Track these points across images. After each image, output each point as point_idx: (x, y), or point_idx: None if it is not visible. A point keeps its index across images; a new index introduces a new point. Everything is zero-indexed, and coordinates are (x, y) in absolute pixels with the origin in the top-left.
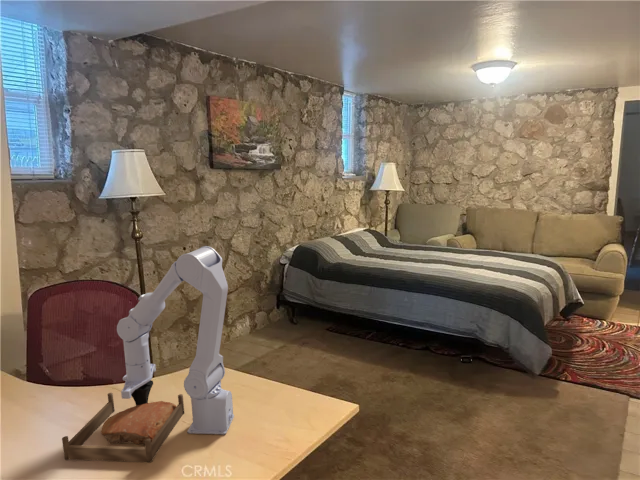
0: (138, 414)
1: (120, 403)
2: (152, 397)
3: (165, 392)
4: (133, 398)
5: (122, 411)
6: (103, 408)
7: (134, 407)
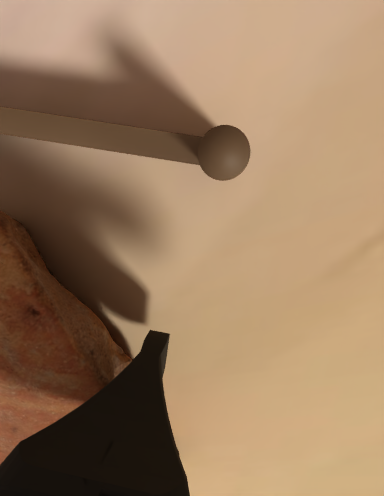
0: None
1: (319, 174)
2: (341, 337)
3: (378, 385)
4: (108, 384)
5: (37, 306)
6: (107, 137)
7: (55, 377)
